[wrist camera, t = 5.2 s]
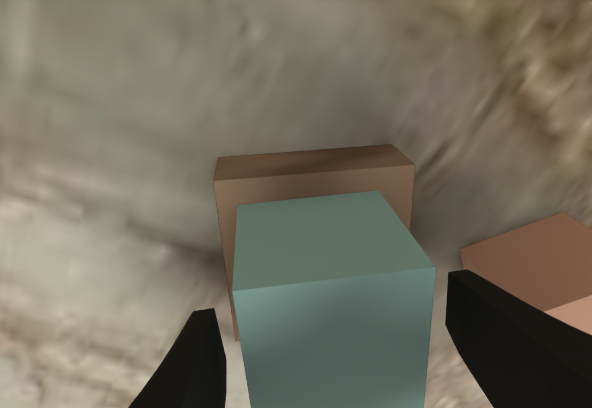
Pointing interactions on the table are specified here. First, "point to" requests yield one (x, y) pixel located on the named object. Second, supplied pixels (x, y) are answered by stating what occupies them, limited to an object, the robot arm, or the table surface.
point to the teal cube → (332, 303)
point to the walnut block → (307, 185)
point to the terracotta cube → (541, 267)
